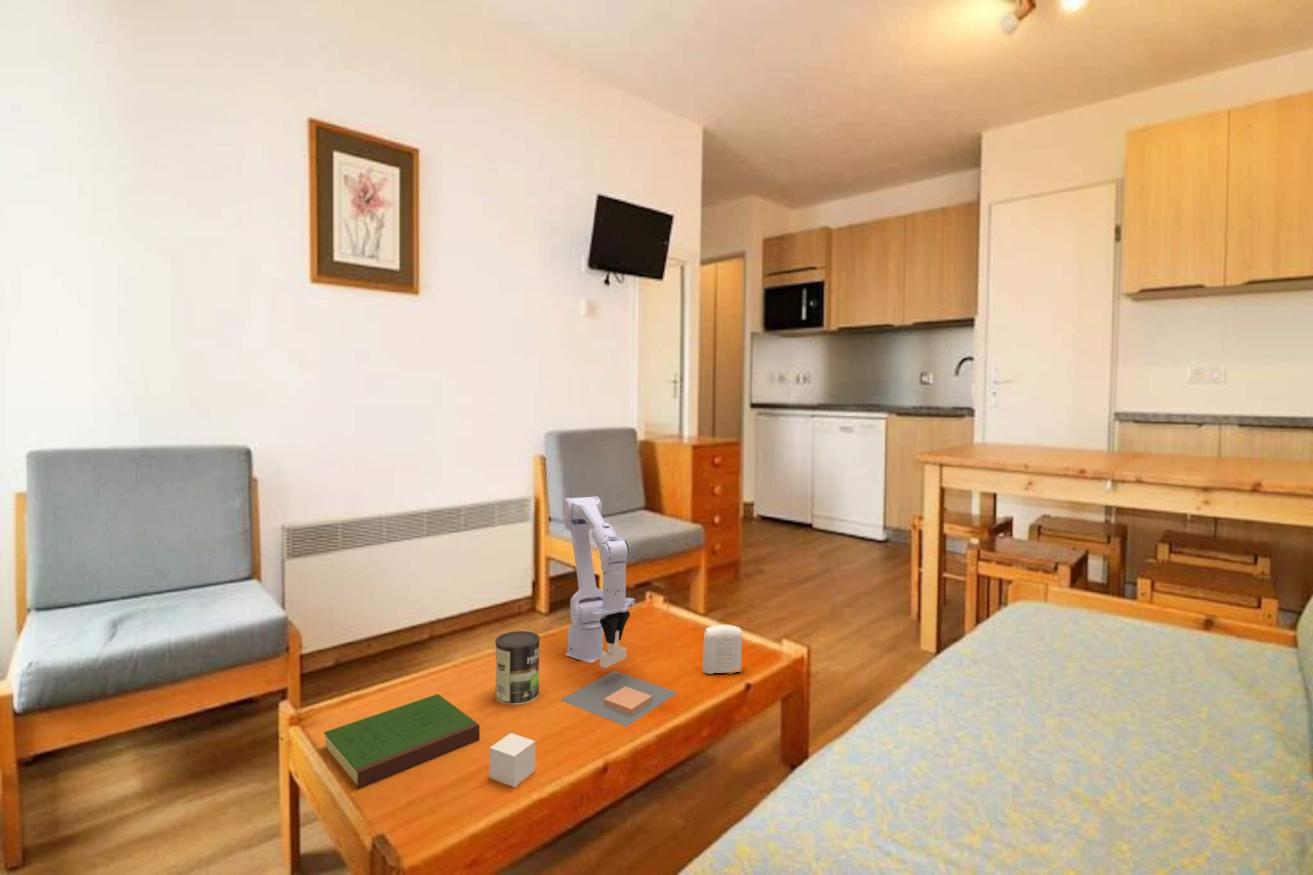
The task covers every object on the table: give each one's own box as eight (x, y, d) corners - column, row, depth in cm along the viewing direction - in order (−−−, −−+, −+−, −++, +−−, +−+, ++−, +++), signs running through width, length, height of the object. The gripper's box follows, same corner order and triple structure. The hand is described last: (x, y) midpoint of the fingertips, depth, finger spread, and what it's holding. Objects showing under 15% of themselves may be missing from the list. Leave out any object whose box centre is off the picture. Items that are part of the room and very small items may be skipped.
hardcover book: (358, 792, 116) (358, 772, 115) (324, 750, 129) (323, 732, 129) (482, 740, 133) (482, 723, 133) (441, 708, 147) (441, 692, 146)
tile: (603, 698, 147) (631, 709, 142) (625, 686, 153) (652, 695, 149) (603, 705, 147) (631, 716, 142) (625, 693, 153) (652, 702, 149)
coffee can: (545, 688, 156) (546, 632, 155) (529, 708, 146) (529, 648, 145) (506, 684, 158) (506, 628, 157) (487, 703, 148) (487, 644, 147)
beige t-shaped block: (599, 666, 158) (600, 634, 157) (619, 655, 164) (620, 625, 164) (605, 668, 157) (606, 636, 156) (626, 657, 163) (626, 627, 163)
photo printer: (738, 667, 170) (740, 622, 170) (743, 674, 166) (744, 627, 165) (701, 668, 169) (702, 623, 168) (704, 675, 165) (705, 629, 164)
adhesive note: (510, 762, 125) (511, 732, 125) (535, 771, 122) (535, 740, 122) (489, 778, 120) (489, 747, 119) (514, 787, 117) (514, 756, 117)
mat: (559, 701, 150) (559, 699, 150) (613, 672, 166) (613, 670, 166) (626, 728, 138) (626, 726, 138) (677, 694, 154) (677, 692, 154)
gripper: (607, 598, 151) (607, 654, 152) (644, 584, 163) (643, 636, 164) (585, 592, 155) (584, 647, 156) (622, 579, 167) (622, 630, 168)
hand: (613, 641), depth 160 cm, fingers closed on beige t-shaped block, 2 cm apart
